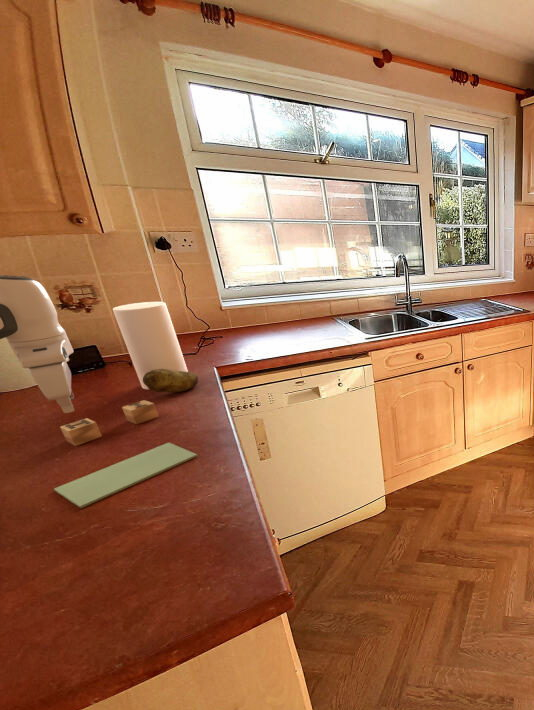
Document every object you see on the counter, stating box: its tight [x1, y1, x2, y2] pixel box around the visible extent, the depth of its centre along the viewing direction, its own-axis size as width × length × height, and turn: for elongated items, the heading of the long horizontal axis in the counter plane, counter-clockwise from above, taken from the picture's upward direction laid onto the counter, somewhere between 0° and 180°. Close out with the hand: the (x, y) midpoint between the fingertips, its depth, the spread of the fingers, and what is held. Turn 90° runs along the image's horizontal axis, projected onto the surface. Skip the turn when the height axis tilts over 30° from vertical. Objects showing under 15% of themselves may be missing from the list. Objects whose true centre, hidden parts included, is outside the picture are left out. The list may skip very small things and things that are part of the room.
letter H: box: [59, 417, 103, 447], centre depth 102 cm, size 5×5×4 cm
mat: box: [53, 442, 198, 509], centre depth 88 cm, size 20×12×1 cm, turn 152°
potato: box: [143, 369, 200, 394], centre depth 128 cm, size 8×13×8 cm, turn 130°
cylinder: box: [112, 301, 189, 391], centre depth 132 cm, size 12×12×25 cm
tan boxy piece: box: [121, 399, 159, 425], centre depth 111 cm, size 5×5×4 cm
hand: (69, 405), depth 99 cm, fingers open, 8 cm apart
